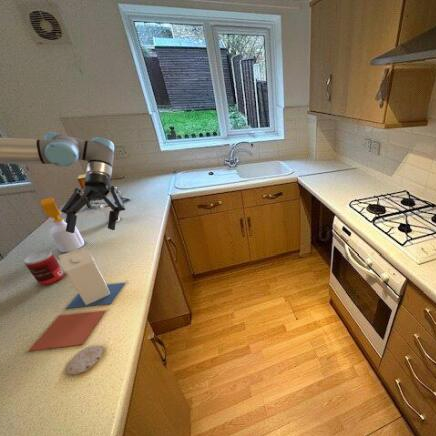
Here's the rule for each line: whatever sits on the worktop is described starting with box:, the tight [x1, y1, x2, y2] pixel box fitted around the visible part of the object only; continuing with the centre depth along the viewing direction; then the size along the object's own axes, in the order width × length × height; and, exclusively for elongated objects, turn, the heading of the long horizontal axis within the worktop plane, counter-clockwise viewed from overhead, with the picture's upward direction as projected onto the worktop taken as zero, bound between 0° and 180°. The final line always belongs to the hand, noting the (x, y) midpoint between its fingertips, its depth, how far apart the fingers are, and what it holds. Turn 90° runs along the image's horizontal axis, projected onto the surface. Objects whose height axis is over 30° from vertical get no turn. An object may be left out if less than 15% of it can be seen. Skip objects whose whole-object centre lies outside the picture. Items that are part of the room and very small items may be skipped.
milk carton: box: [57, 246, 110, 305], centre depth 81 cm, size 7×7×19 cm
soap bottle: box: [40, 197, 85, 253], centre depth 107 cm, size 9×9×25 cm
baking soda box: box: [77, 173, 87, 198], centre depth 163 cm, size 10×6×16 cm
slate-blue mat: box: [65, 282, 126, 310], centre depth 85 cm, size 14×10×1 cm
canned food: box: [23, 250, 65, 287], centre depth 91 cm, size 8×8×11 cm
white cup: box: [99, 202, 121, 223], centre depth 133 cm, size 7×7×10 cm
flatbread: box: [65, 344, 104, 376], centre depth 64 cm, size 8×8×1 cm
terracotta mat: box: [28, 310, 106, 352], centre depth 73 cm, size 14×12×1 cm
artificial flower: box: [85, 190, 130, 209], centre depth 155 cm, size 9×22×10 cm, turn 113°
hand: (90, 230), depth 85 cm, fingers open, 13 cm apart
